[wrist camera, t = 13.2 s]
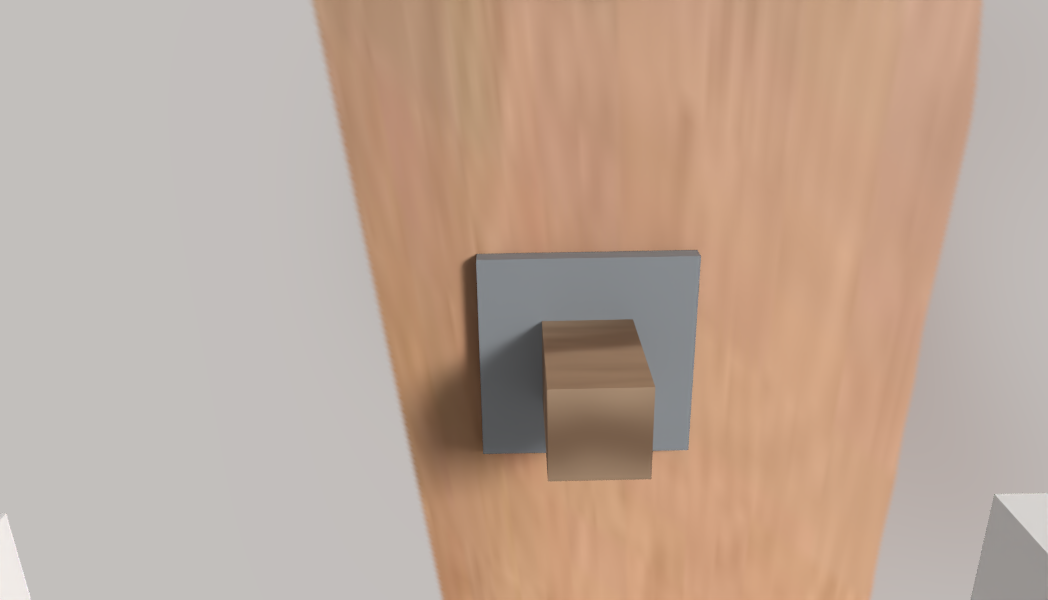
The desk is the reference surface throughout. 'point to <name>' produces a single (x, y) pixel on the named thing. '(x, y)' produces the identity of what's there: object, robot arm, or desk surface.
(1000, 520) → the robot arm
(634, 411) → the block
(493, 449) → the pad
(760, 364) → the desk surface
